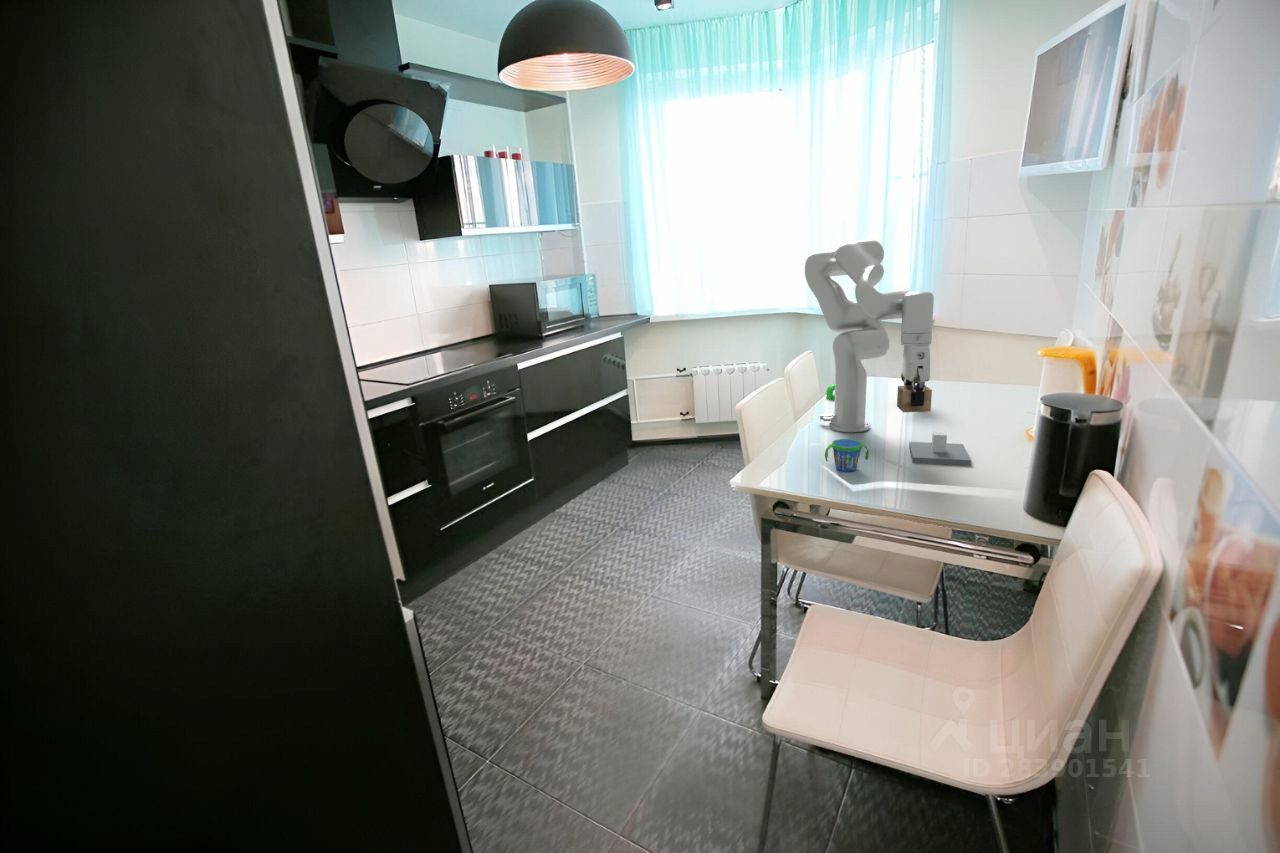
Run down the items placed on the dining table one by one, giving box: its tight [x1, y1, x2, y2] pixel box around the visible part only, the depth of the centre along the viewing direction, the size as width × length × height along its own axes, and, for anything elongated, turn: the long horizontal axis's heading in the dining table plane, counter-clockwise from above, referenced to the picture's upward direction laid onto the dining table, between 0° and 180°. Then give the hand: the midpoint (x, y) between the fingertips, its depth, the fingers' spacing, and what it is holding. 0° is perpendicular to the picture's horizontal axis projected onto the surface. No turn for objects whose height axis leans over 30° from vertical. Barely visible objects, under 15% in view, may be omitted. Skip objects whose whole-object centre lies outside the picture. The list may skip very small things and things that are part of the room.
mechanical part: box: [825, 383, 835, 400], centre depth 221 cm, size 12×6×8 cm, turn 113°
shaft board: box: [908, 431, 972, 466], centre depth 162 cm, size 14×14×6 cm
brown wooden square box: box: [896, 384, 933, 413], centre depth 161 cm, size 7×7×6 cm
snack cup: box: [824, 438, 870, 473], centre depth 157 cm, size 11×8×7 cm
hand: (913, 402), depth 161 cm, fingers closed on brown wooden square box, 7 cm apart
